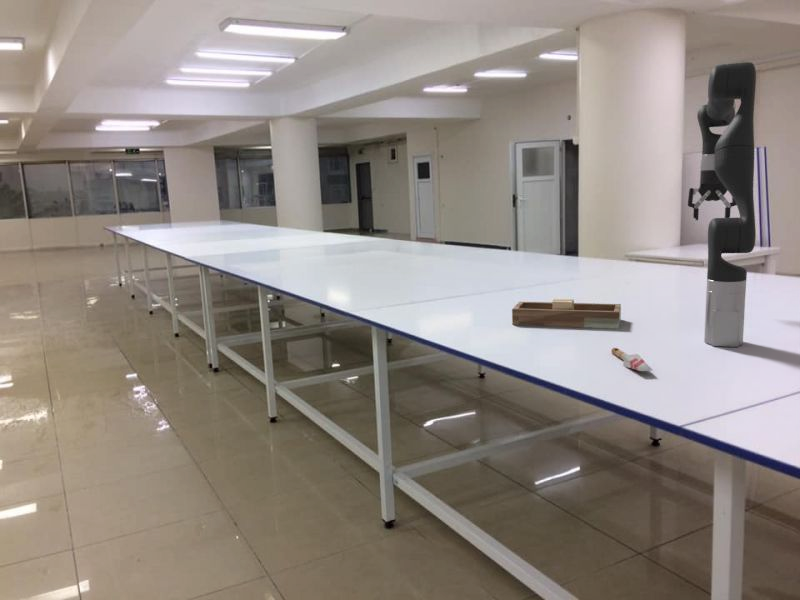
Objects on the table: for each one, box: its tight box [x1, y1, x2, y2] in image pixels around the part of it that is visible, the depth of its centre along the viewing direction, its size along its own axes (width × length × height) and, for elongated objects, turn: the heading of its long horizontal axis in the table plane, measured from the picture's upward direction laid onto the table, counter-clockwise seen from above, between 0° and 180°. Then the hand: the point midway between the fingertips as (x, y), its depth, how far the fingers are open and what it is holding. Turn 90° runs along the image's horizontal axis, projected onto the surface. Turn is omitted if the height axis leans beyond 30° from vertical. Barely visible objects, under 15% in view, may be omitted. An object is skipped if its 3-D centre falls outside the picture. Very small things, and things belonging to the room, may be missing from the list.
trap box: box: [511, 301, 622, 330], centre depth 200 cm, size 12×32×5 cm, turn 69°
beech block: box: [551, 298, 575, 310], centre depth 200 cm, size 5×6×4 cm
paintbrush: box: [610, 347, 653, 372], centre depth 155 cm, size 4×3×20 cm
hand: (711, 219), depth 204 cm, fingers open, 8 cm apart
